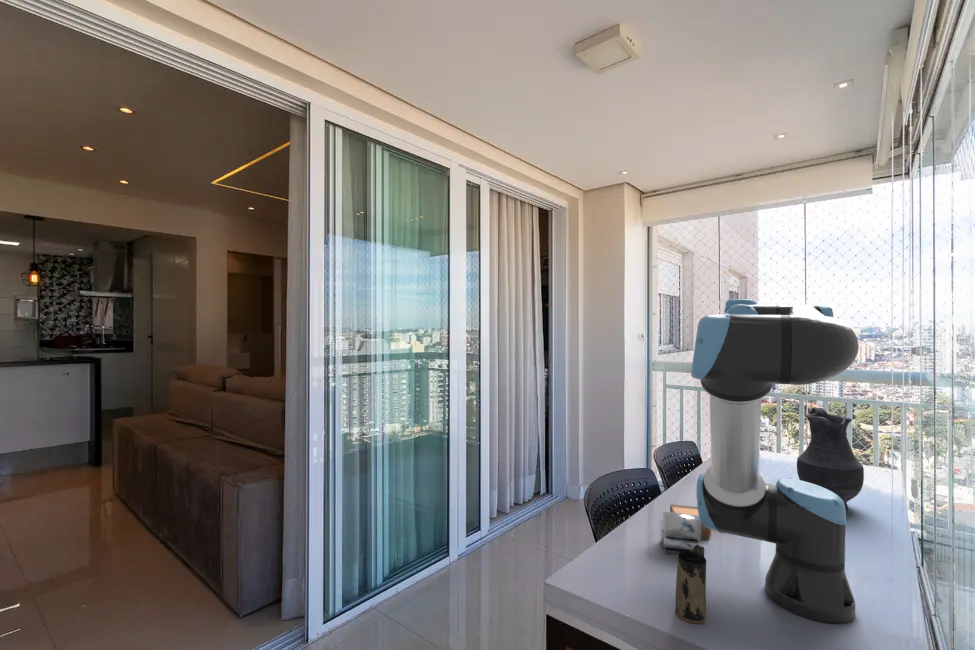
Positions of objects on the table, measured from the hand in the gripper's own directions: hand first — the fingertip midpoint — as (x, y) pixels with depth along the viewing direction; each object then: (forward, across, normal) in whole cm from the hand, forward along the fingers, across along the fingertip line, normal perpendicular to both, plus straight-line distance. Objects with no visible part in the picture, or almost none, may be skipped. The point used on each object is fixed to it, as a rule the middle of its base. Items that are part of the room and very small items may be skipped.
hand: (738, 436), depth 123 cm
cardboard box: (+27, +2, +11) cm, 29 cm away
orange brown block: (+27, +1, +11) cm, 29 cm away
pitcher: (+27, +36, -36) cm, 58 cm away
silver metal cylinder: (+24, -12, +16) cm, 31 cm away
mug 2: (+27, -39, +18) cm, 51 cm away
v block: (+27, -12, +16) cm, 33 cm away
